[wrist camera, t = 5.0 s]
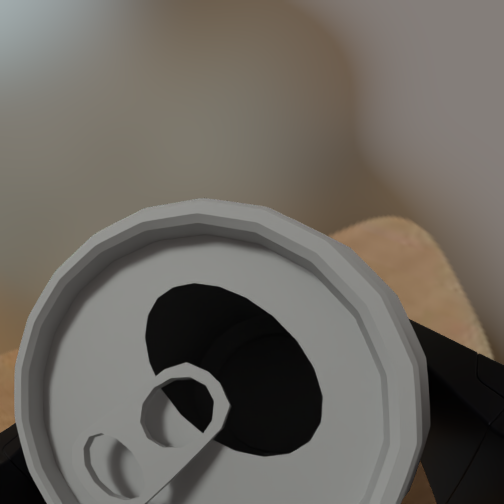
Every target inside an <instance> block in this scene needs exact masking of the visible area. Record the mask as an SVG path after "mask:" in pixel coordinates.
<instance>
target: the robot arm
mask: <svg viewBox="0 0 504 504" xmlns="http://www.w3.org/2000/svg"><path fill="white" fill-rule="evenodd" d="M409 321H410V323H411V325H412V327H413V329H414V332H415V334H416V336H417V338H418V340H419V343H420V345H421V347H422V349H423V352H424V354H425V356H426V363H427V373H428V386H429V402H430V429H429V433H428V436H427V440H426V443H425V447H424V450H423V453H422V456H421V459H420V460H421V463H422V465H423V468H424V470H425V473H426V476H427V478H428V481H429V483H430V486H431V489H432V491H433V494H434V497H435V500H436V502H437V504H504V365H502V364H500V363H498V362H496V361H494V360H492V359H490V358H488V357H486V356H484V355H482V354H478V353H477V352H475V351H473V350H471V349H469V348H467V347H465V346H463V345H461V344H459V343H457V342H455V341H453V340H451V339H449V338H447V337H445V336H443V335H441V334H439V333H437V332H435V331H433V330H431V329H429V328H427V327H425V326H423V325H420V324H418V323H416V322H414V321H412V320H410V319H409ZM0 504H47V503H46V501H45V499H44V498H43V496H42V494H41V492H40V491H39V489H38V487H37V485H36V483H35V482H34V480H33V478H32V476H31V474H30V472H29V470H28V467H27V463H26V460H25V457H24V453H23V449H22V446H21V442H20V438H19V434H18V430H17V425H16V423H15V424H13V425H12V426H10V427H9V428H7V429H6V430H4V431H3V432H1V433H0Z"/></svg>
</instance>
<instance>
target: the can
mask: <svg viewBox="0 0 504 504" xmlns="http://www.w3.org/2000/svg"><path fill="white" fill-rule="evenodd" d="M14 398H15V421H16V425H17V430H18V434H19V438H20V442H21V446H22V449H23V453H24V457H25V460H26V463H27V467H28V470H29V472H30V474H31V476H32V478H33V480H34V482H35V483H36V485H37V487H38V489H39V491H40V492H41V494H42V496H43V498H44V499H45V501H46V503H47V504H401V502H402V499H403V498H404V497H405V496H406V494H407V493H408V492H409V490H410V487H411V485H412V482H413V479H414V477H415V474H416V471H417V468H418V465H419V462H420V459H421V456H422V453H423V450H424V447H425V443H426V440H427V436H428V433H429V429H430V402H429V386H428V373H427V363H426V356H425V354H424V352H423V349H422V347H421V345H420V343H419V340H418V338H417V336H416V334H415V332H414V329H413V327H412V325H411V323H410V321H409V319H408V317H407V314H406V312H405V310H404V308H403V306H402V304H401V302H400V300H399V298H398V296H397V295H396V294H395V293H394V291H393V290H392V289H391V288H390V287H389V286H388V285H387V284H386V283H385V282H384V281H383V280H382V279H381V278H380V277H379V276H378V275H377V274H376V273H375V272H374V271H373V270H372V269H371V268H370V267H369V266H368V265H367V264H366V263H365V262H364V261H363V260H362V259H361V258H360V257H359V256H358V255H357V254H356V253H355V252H354V251H353V250H352V249H351V248H350V247H348V246H346V245H344V244H342V243H340V242H338V241H336V240H334V239H332V238H330V237H328V236H326V235H324V234H322V233H320V232H318V231H316V230H314V229H312V228H310V227H308V226H306V225H304V224H302V223H300V222H298V221H296V220H294V219H291V218H289V217H287V216H285V215H283V214H281V213H279V212H277V211H275V210H273V209H271V208H268V207H264V206H257V205H250V204H244V203H237V202H229V201H222V200H215V199H207V198H201V199H194V200H188V201H182V202H177V203H171V204H165V205H159V206H154V207H148V208H144V209H142V210H140V211H138V212H136V213H134V214H132V215H130V216H128V217H126V218H124V219H122V220H120V221H118V222H116V223H114V224H112V225H111V226H109V227H107V228H104V229H103V230H101V231H99V232H97V233H95V234H94V235H93V236H92V237H91V238H90V239H88V240H87V241H86V242H85V243H84V244H83V245H82V246H81V247H80V248H79V249H78V250H77V251H76V252H75V253H73V254H72V255H71V256H70V257H69V258H68V259H67V260H66V261H65V262H64V263H63V264H62V265H61V266H60V267H59V268H58V269H57V270H56V271H55V273H54V274H53V276H52V278H51V279H50V281H49V282H48V284H47V286H46V287H45V289H44V291H43V292H42V294H41V296H40V297H39V299H38V301H37V302H36V304H35V306H34V308H33V310H32V311H31V313H30V315H29V317H28V320H27V323H26V327H25V330H24V334H23V337H22V341H21V345H20V348H19V352H18V356H17V360H16V365H15V390H14Z"/></svg>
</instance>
